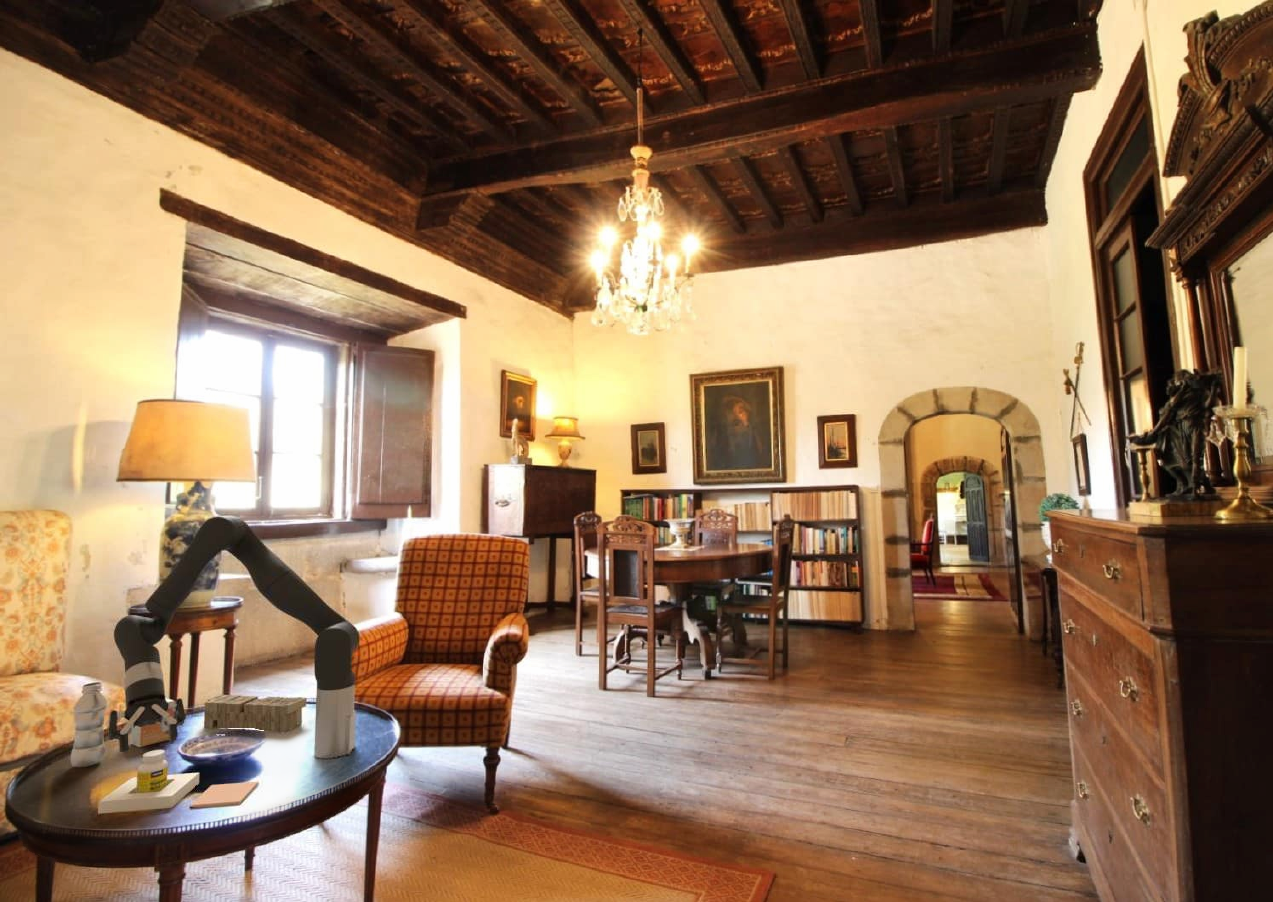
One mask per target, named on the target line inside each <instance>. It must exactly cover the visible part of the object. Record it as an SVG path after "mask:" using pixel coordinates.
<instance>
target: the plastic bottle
mask: <svg viewBox="0 0 1273 902" xmlns="http://www.w3.org/2000/svg"><path fill="white" fill-rule="evenodd" d="M102 687H103V682H101V681H100V682H99V681H98V682H96V681H95V682H90V683H85V684H83V685H82V688H81V689H82V690H81V694H82V695H81V697H80V698H78V700H77V701H76V703H75V704H74V706H73V718H74V730H75V731H74V740H73V748H72V750H71V752H70V753H71V754H70V758H69V760H70V764H71V765H72V766H73V767H74V768H85V767H90V766H94V765H96V764H99V763H100V762H102V760H103V759H104V758H105V754H106V746H105V741H104V724H105V723H104V722H105V717H106V713H107V709H108V708H107V707H108V700H107V698H106V697H105V696H104V695H103V694H102V693H101V691H103V688H102Z"/></svg>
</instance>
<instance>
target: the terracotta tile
mask: <svg viewBox="0 0 1273 902" xmlns="http://www.w3.org/2000/svg"><path fill="white" fill-rule="evenodd" d="M258 785H259V781H249V782H235V783H234V782H233V783H224V784H221V783H220V784H211V785H209V787H208V788H207V789H205V791H204V792H202V793H201V794H200V795H199V796H198V797H197V798H196V799H195V800H194V801H193V802H192V803H191V804H189V808H190V807H198V808H207V807H219V806H220V807H221V806H222V807H223V806H230V805H231V804H234V805H241V804H242V803H241V802H244V800H245V799H246V798H247V797H248V796H249V795H250V794H251V793H252V792H253V790H255V788H256V787H257V786H258ZM240 803H241V804H240ZM231 806H232V805H231Z"/></svg>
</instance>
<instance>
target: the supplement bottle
mask: <svg viewBox="0 0 1273 902" xmlns="http://www.w3.org/2000/svg"><path fill="white" fill-rule="evenodd" d="M165 755H166V751H165V750H164V749H154V750H150V751H147V752H145V753H143V755H142V758H141V759H142V764H140V765H139V766H138V768H137V776H136V777H137V788H136V793H148V792H160V791H161V790H162V789H164V788H165V787H166V783H167V775H168V767H169V765H168V764H169V763H168V761H167V760H166V759H165V757H166V756H165Z"/></svg>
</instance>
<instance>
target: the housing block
mask: <svg viewBox="0 0 1273 902" xmlns="http://www.w3.org/2000/svg"><path fill="white" fill-rule="evenodd" d="M199 784H200V772H191V773H176V774H167V783H166V787H165V788H164V789H162V790H161V791H160V792H148V793H136V788H137V776H135V777H131V778H130V779H128V780H126V782H124V783H123V784H121V785H120V786H119V787H117V788H115V789H114V790H113V791H112V792H110V793H109V794H107V795H106V796H104V797H103V798H102V799H100V800H99V801H98V812H97V814H98V815H99V814H111V813H123V812H135V811H137V812H138V811H148V810H149V811H150V810H160V809H162V810H163V809H171V808H173V807H174V806H175V805H176V804H177V803H178V802H180V801H181V800H182V799H183V798H184V797H185V796H186V795H188V794H189V793H190V792H191V791H192V790H193V789H195V786H196V785H197V786H198V785H199ZM197 786H196V787H197Z"/></svg>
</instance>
